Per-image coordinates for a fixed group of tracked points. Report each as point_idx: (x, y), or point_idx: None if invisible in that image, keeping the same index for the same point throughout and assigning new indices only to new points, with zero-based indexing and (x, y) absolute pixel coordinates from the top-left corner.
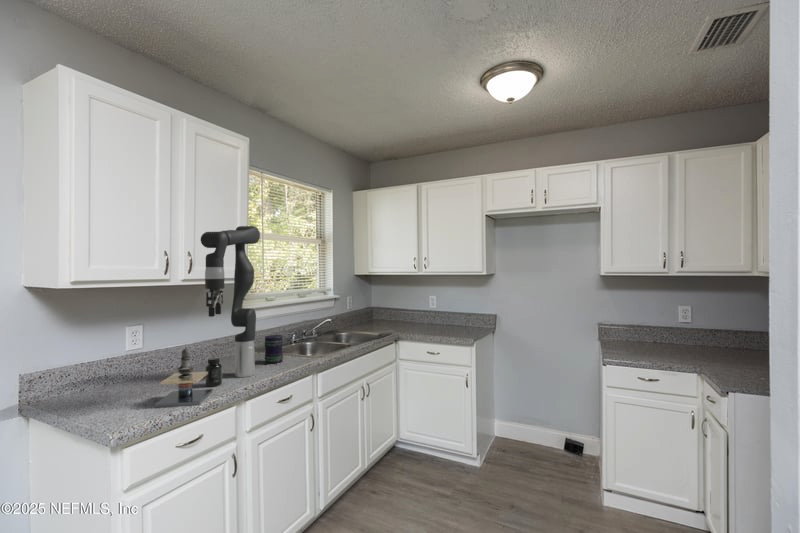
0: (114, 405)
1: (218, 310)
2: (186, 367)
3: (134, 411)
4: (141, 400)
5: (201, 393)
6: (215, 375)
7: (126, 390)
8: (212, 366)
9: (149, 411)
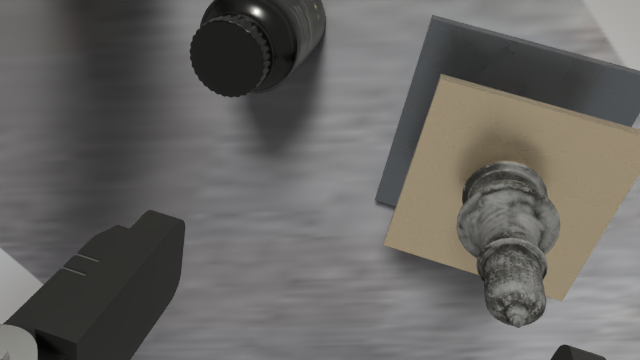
0: (434, 356)
1: (141, 295)
2: (545, 228)
3: (564, 304)
4: (414, 289)
5: (490, 75)
6: (307, 20)
7: (244, 332)
8: (287, 54)
9: (604, 261)
